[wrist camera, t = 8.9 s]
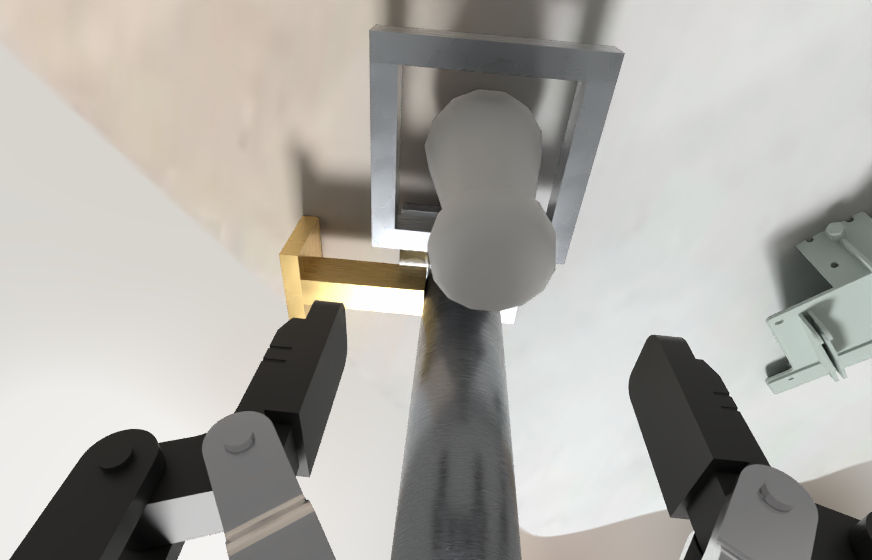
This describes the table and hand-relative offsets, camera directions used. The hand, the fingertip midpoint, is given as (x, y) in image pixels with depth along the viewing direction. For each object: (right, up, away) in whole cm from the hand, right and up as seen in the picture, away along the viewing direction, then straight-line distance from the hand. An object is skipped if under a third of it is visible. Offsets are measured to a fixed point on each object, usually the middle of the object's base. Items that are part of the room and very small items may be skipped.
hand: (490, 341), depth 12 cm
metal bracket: (+26, +1, +18) cm, 32 cm away
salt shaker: (+1, +10, +13) cm, 16 cm away
